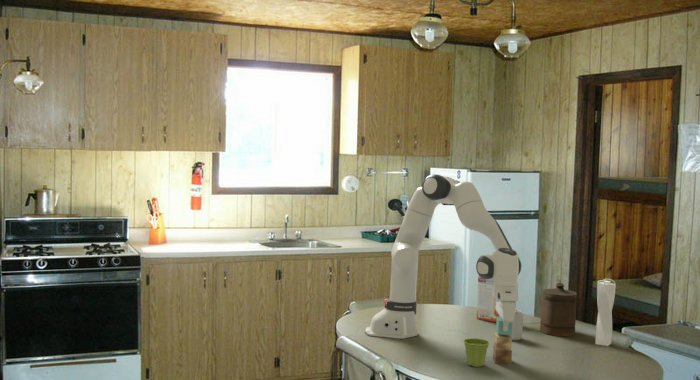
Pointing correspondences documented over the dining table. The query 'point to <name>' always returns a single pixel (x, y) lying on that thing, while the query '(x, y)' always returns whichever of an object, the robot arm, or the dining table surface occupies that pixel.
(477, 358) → the plant pot
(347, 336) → the dining table surface
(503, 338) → the oak middle block
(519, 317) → the can
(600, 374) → the dining table surface
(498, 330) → the teal block
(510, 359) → the walnut base block
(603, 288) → the skyscraper
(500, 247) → the robot arm
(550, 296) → the wooden container
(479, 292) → the cracker box
